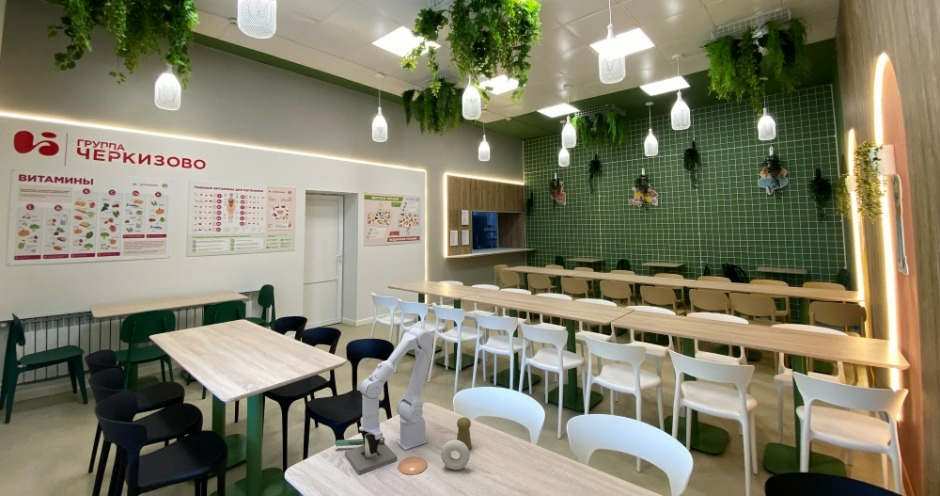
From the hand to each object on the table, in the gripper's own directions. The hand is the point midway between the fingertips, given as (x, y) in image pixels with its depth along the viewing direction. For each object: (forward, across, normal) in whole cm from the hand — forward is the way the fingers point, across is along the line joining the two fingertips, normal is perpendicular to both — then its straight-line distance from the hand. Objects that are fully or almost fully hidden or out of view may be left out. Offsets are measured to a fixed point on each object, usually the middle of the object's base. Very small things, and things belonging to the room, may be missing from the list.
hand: (370, 450), depth 138 cm
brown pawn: (+3, +14, +31) cm, 34 cm away
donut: (+3, +23, +21) cm, 31 cm away
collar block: (+3, 0, 0) cm, 3 cm away
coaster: (+3, +13, +10) cm, 17 cm away
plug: (+2, 0, 0) cm, 2 cm away
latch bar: (+1, -8, -1) cm, 8 cm away
